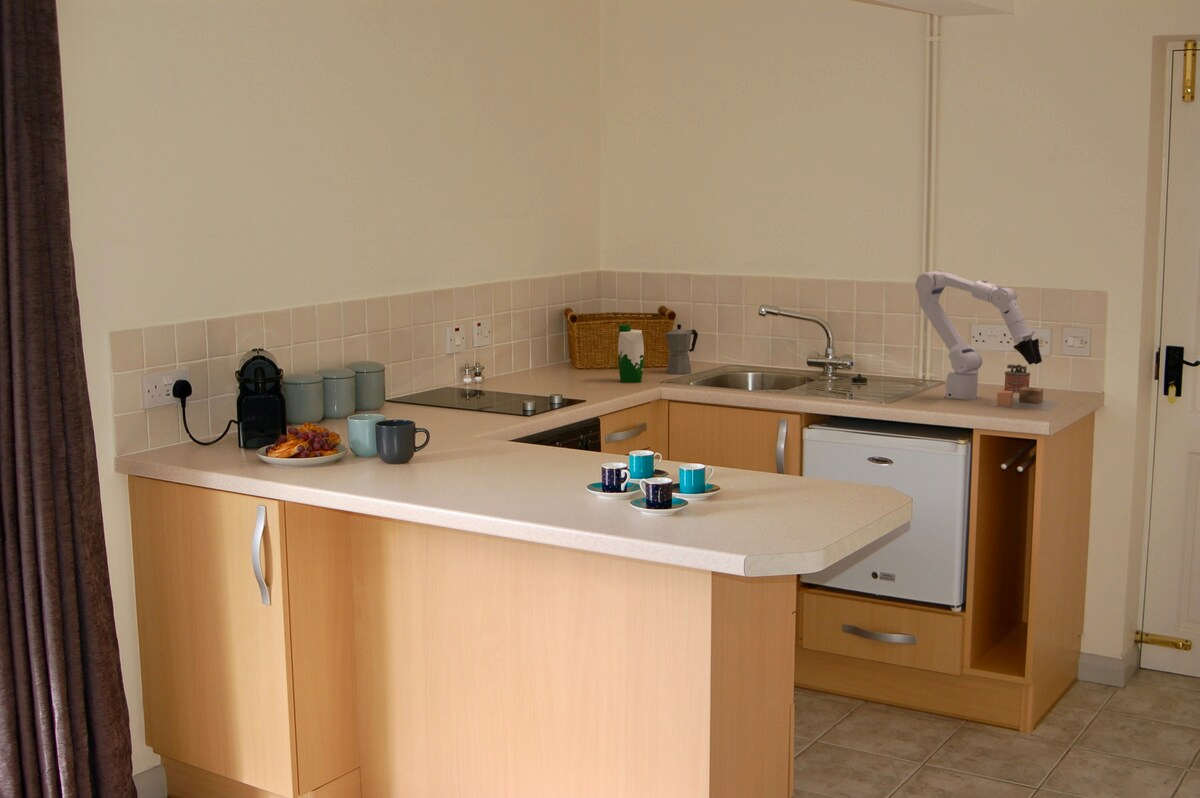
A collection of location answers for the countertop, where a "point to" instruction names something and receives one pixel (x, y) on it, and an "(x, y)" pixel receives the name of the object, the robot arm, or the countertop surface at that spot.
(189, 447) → the countertop surface
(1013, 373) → the lighter
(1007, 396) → the top brick
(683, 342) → the coffeepot
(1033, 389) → the base brick
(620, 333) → the milk carton
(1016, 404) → the baseplate
